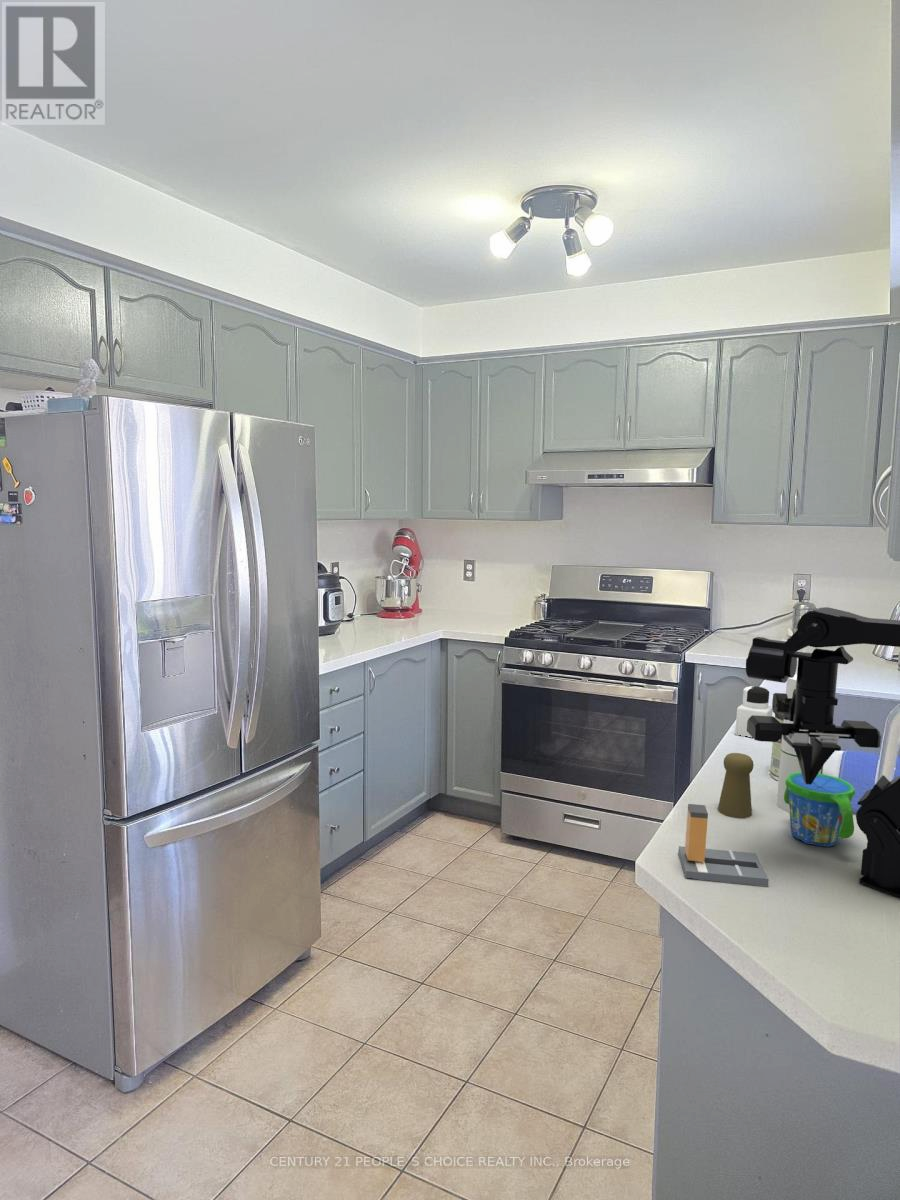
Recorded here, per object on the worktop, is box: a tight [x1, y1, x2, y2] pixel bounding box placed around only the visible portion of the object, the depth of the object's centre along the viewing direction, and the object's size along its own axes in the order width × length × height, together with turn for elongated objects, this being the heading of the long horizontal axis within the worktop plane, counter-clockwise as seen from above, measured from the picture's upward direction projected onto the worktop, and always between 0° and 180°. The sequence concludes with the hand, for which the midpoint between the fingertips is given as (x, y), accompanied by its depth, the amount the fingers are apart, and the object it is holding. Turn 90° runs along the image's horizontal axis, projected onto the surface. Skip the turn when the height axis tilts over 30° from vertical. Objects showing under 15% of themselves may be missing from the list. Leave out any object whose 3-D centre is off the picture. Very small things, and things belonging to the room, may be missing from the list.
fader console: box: [677, 845, 770, 887], centre depth 125 cm, size 12×9×1 cm
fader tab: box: [684, 803, 709, 862], centre depth 126 cm, size 2×4×9 cm
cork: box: [717, 752, 755, 819], centre depth 149 cm, size 6×6×11 cm
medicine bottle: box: [734, 685, 773, 737], centre depth 200 cm, size 7×7×12 cm
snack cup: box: [784, 772, 856, 847], centre depth 138 cm, size 16×10×10 cm
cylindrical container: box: [776, 673, 821, 813], centre depth 151 cm, size 7×7×25 cm
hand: (807, 783), depth 128 cm, fingers closed
